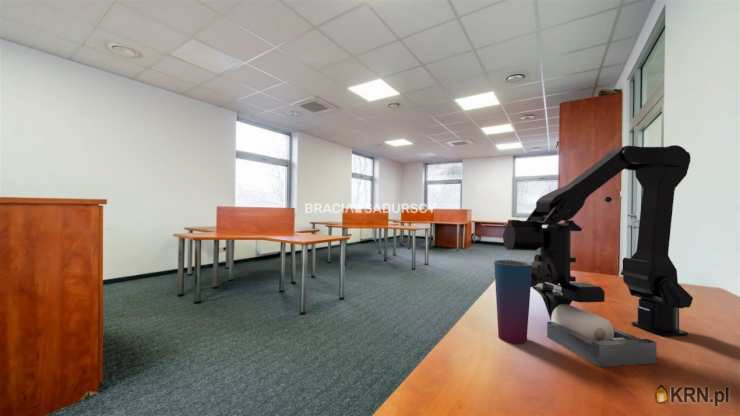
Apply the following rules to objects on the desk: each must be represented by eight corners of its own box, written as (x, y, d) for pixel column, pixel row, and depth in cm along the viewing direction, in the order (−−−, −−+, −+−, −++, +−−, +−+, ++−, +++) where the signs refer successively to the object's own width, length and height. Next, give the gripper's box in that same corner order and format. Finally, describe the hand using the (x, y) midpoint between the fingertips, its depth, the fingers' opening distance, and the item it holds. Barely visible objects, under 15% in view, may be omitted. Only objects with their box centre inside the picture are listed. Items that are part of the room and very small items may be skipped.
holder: (594, 334, 59) (594, 317, 59) (656, 363, 48) (656, 341, 48) (547, 336, 58) (547, 318, 58) (599, 366, 47) (599, 344, 47)
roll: (551, 333, 60) (550, 304, 60) (576, 331, 61) (576, 303, 61) (585, 352, 52) (585, 318, 52) (614, 349, 53) (614, 316, 53)
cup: (537, 348, 53) (537, 266, 53) (497, 344, 54) (498, 264, 55) (525, 333, 60) (525, 260, 60) (490, 330, 61) (490, 259, 61)
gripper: (496, 246, 72) (496, 309, 71) (553, 258, 53) (552, 343, 53) (538, 246, 73) (537, 308, 73) (607, 258, 54) (607, 341, 54)
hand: (554, 322), depth 63 cm, fingers closed
